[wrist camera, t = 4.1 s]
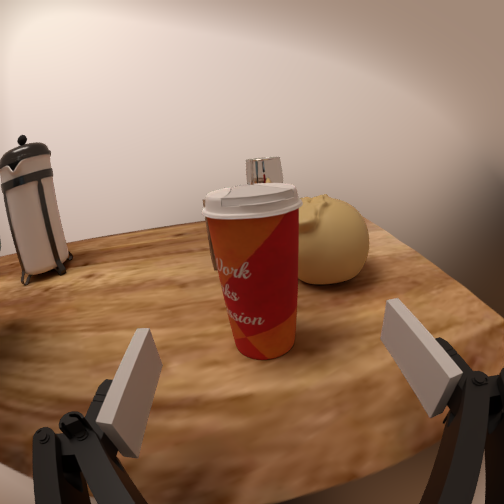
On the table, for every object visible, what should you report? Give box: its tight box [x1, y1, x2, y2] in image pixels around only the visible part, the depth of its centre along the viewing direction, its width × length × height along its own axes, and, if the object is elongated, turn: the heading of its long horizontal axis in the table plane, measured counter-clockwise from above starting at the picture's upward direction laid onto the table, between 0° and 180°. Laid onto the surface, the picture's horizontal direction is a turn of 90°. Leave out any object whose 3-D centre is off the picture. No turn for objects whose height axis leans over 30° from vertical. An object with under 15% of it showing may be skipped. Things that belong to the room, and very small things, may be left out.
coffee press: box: [0, 135, 73, 285], centre depth 45 cm, size 17×16×30 cm
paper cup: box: [202, 183, 303, 360], centre depth 24 cm, size 8×8×14 cm
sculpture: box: [298, 194, 369, 284], centre depth 36 cm, size 12×12×11 cm
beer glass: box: [246, 157, 283, 185], centre depth 55 cm, size 7×7×15 cm
